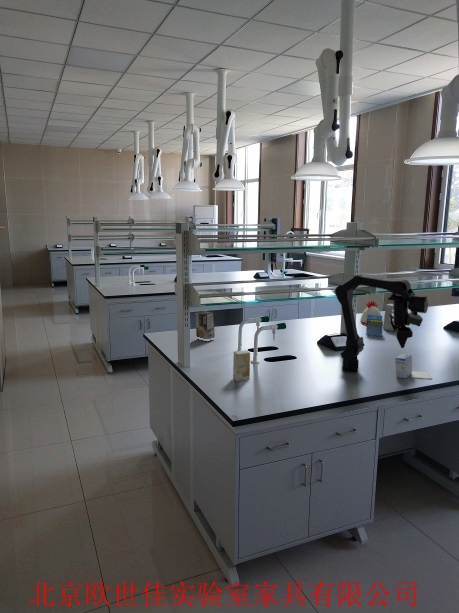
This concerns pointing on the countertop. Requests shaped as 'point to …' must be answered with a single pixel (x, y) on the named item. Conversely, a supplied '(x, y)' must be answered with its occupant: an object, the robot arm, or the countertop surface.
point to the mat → (420, 375)
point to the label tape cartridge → (374, 325)
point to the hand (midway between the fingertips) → (400, 342)
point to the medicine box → (403, 365)
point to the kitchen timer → (370, 312)
